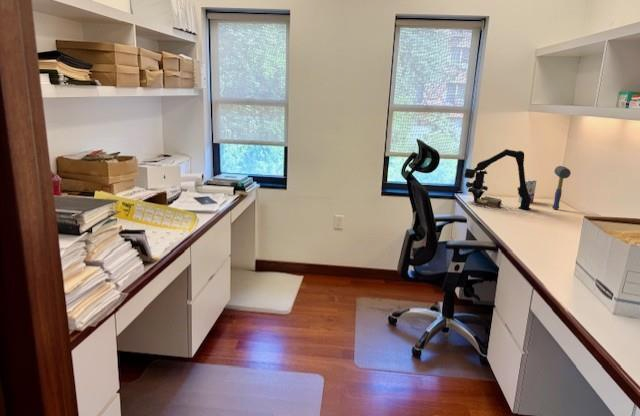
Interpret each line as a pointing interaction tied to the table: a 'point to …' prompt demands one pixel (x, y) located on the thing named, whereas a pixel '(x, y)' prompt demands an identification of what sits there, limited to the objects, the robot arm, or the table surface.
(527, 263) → the table surface
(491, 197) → the block
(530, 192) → the candy bar box
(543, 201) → the table surface
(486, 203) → the brass rod
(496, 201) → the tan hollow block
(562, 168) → the rubber mallet
